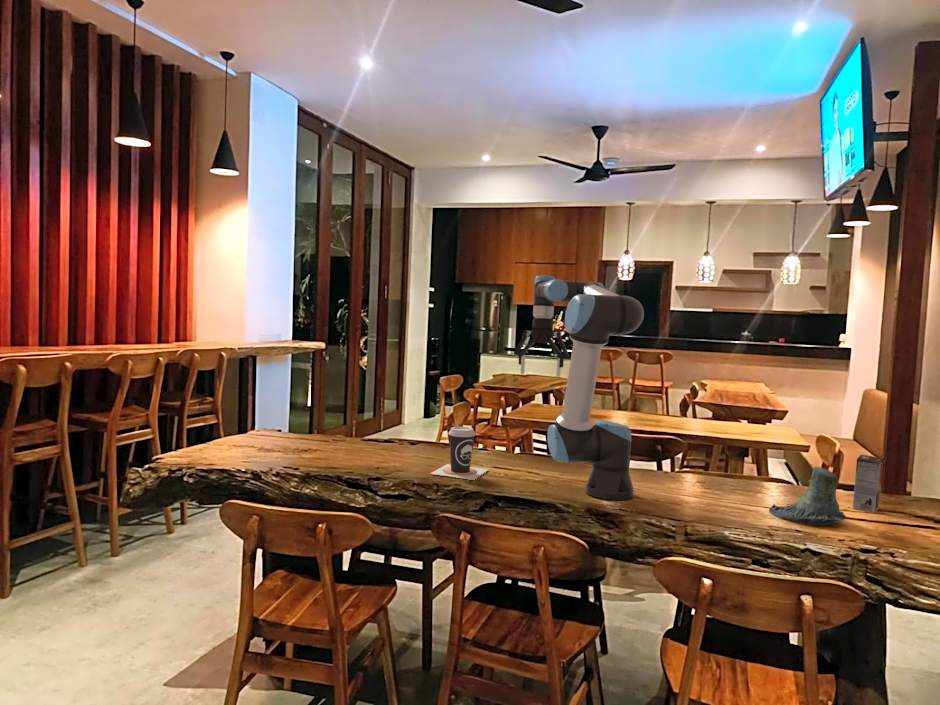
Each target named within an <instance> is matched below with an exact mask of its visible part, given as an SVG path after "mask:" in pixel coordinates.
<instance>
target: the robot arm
mask: <svg viewBox="0 0 940 705" xmlns="http://www.w3.org/2000/svg"><path fill="white" fill-rule="evenodd" d="M533 287H534V290H533V308H532V310H533V311H532V317H534V318H533V319H532V326H531V327H532V329H531V330H528V329H524V330H523V332H522V333H523V334H522V337H521V338H520V341H519V342H518V344H517V346H516V348H515V349H514V351H513V352H514V355H517V356H518V365H520V374H521V375H524V374H525V370H526V369H525V365H526V364H525V363H526V355H525V354H526V353H527V351H528V350H530V348H531V347H532V346H533V345H534V344H535V343H538V344H540V343H542V344H547V343H548V344H549V346H550V347H551V348H552V350H553V351H554V352H555V354H556V355H557V356H558V358H557V363H556V364H557V365H556V377H561V368H563V367H564V360H565V358H568V357H570V361H569V362H570V363H569V366H568V367H569V368H568V374H567V381H566V385H565V393H564V400H563V404H562V413H561V414H559V415H558V416H557V417H556V419H555V420H556V421H555V424H550V425H549V426H548V428H547V433H546V434H547V446H548V449H549V453H550V455H551V458H552V459H553V460H554V461H556V462H558V463H561V462H562V463H566V464H568V463H591V464H592V466H591V471H590V473H589V476H588V478H587V480H586V483H585V491H586V492H585V493H586V494H587V493H588V494H589V496H590V495H592V496H591V497H593V496H595V497H594V498H596V497H598V498H597V499H600V498H603V499H602V500H606V499H614V500H613V501H626V500H625V499H628V500H631V499H633V498H634V492H635V491H634V486H633V482H632V477H631V475H630V464H631V451H632V450H631V449H632V442H633V441H632V429H631V428H630V427H629V426H628V425H625V424H622V423H618V422H613V421H608V420H602V419H597V420H595V421H594V422H593V421H592V420H591V413H592V407H593V401H594V396H595V391H596V390H595V388H596V384H597V379H598V371H599V368H600V367H599V366H600V361H601V356H602V349H603V347H604V346H605V345H607V344H608V343H609V339H610V336H622V335H623V336H624V335H628V334H630V333H633V332H634V331H636V330H637V329H638V328H640V326H641V325H642V324H643V320H644V317H645V311H644V307H643V305H642V303H641V302H640V301H639V300H637V299H636V298H634V297H632V296H629V295H619V294H617V293H614V292H612V291H610V290H608V289H606V288H605V286H604V284H603V283H601V282H596V281H577V280H576V281H575V280H562V279H559V278H558V279H557V278H556V277H555V276H554V275H543V274H542V275H536V276H535V278H534V284H533ZM555 302H560V303H562V302H563V303H568V304H567V307H566V310H565V313H564V315H565V316H564V329H565V330H566V332H567V333H569V335H568V337H569V339H570V340H571V342H572V350H571V356H570V354H569V352H568V349H567V347H566V345H565V342H564V340H563V338H562V331H555V332H554V319H553V317H554V313H555V311H554V310H555ZM529 336H531V337H532V339H530V341H529V342H528V343H527V344H526V345H525V346H523V345H524V344H525V342H526V340H527V339H528V337H529ZM554 336H555V338H556V339H557V341H558V344H559V346H560V349H561V350H562V352H561V350H560V349H559V347H558V346H557V345H556V344H555V342H554V340H553V339H552V338H553V337H554ZM523 347H524V348H523ZM588 494H587V495H588ZM632 497H633V498H632ZM630 498H631V499H630Z"/></svg>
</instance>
